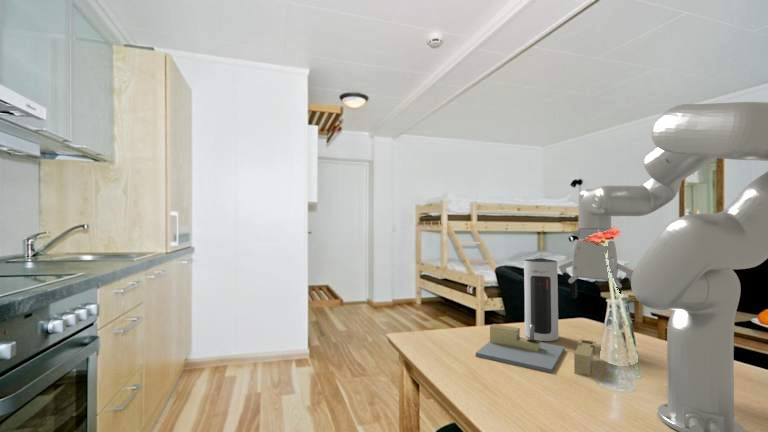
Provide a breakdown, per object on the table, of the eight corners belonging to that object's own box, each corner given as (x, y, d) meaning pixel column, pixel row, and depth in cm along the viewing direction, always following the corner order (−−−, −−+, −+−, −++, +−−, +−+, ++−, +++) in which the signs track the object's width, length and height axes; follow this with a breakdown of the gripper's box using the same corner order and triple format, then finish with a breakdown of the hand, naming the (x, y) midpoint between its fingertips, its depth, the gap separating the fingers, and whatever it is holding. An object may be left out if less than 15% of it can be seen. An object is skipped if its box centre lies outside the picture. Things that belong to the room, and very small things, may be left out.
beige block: (591, 377, 90) (591, 356, 90) (573, 373, 92) (573, 353, 92) (596, 359, 102) (596, 341, 102) (580, 356, 104) (580, 338, 104)
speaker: (520, 337, 120) (519, 259, 121) (529, 330, 129) (528, 256, 129) (554, 344, 114) (554, 261, 114) (561, 336, 122) (561, 258, 123)
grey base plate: (551, 373, 92) (551, 369, 92) (475, 356, 104) (475, 352, 104) (564, 350, 109) (564, 346, 109) (497, 337, 120) (497, 334, 120)
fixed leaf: (537, 352, 104) (537, 327, 104) (489, 342, 112) (489, 320, 112) (540, 348, 107) (540, 324, 107) (493, 339, 115) (493, 317, 115)
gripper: (556, 235, 99) (556, 298, 98) (633, 237, 88) (633, 307, 88) (562, 234, 105) (562, 293, 104) (634, 236, 94) (635, 302, 94)
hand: (594, 299), depth 96 cm, fingers open, 9 cm apart
